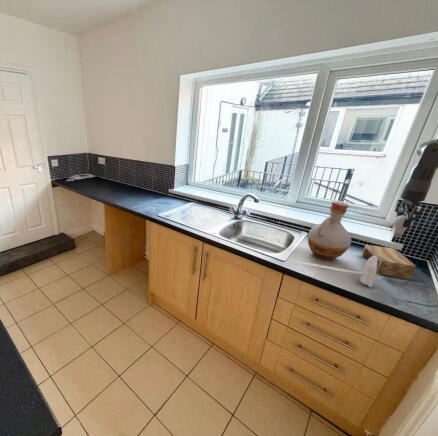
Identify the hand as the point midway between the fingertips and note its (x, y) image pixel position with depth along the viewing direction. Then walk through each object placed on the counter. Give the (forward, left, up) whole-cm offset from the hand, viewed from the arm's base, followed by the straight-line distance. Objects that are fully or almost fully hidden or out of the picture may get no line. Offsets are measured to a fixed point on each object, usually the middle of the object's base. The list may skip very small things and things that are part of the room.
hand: (401, 224), depth 111 cm
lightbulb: (0, 0, -7) cm, 7 cm away
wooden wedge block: (0, 0, -23) cm, 23 cm away
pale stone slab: (+13, +17, -23) cm, 31 cm away
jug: (+26, 0, -23) cm, 35 cm away
